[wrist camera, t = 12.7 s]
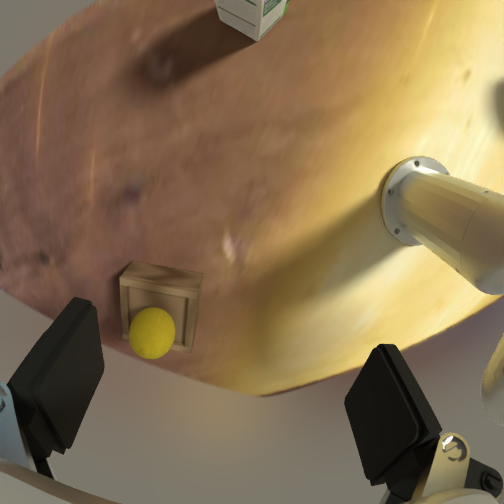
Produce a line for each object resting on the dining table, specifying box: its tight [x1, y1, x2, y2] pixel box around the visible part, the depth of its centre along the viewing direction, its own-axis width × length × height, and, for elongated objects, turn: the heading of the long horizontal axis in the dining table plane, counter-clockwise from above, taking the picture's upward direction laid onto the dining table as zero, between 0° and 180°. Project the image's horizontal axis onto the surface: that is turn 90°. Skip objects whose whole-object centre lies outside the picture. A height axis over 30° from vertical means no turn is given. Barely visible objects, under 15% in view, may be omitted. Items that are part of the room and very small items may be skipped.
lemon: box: [129, 307, 175, 359], centre depth 33 cm, size 6×6×8 cm
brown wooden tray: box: [120, 261, 203, 353], centre depth 38 cm, size 10×10×5 cm
